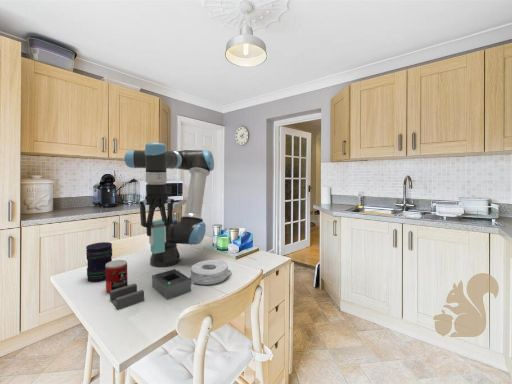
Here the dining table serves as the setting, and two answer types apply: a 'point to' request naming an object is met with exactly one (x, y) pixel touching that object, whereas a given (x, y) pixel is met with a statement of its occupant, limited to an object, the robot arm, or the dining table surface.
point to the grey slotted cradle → (126, 296)
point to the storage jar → (98, 260)
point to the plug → (158, 237)
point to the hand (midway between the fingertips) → (157, 242)
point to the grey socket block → (171, 283)
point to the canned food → (116, 275)
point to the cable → (209, 272)
